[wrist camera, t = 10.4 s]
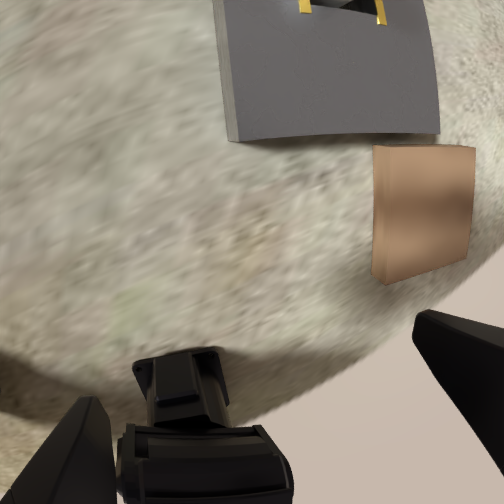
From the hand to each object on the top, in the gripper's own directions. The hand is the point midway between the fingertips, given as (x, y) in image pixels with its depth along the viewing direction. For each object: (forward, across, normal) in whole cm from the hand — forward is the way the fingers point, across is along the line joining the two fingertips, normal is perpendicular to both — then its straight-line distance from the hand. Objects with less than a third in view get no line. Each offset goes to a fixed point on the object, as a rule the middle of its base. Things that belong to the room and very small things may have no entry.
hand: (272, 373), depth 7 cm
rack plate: (+13, -9, -15) cm, 22 cm away
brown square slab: (+13, -17, +1) cm, 21 cm away
